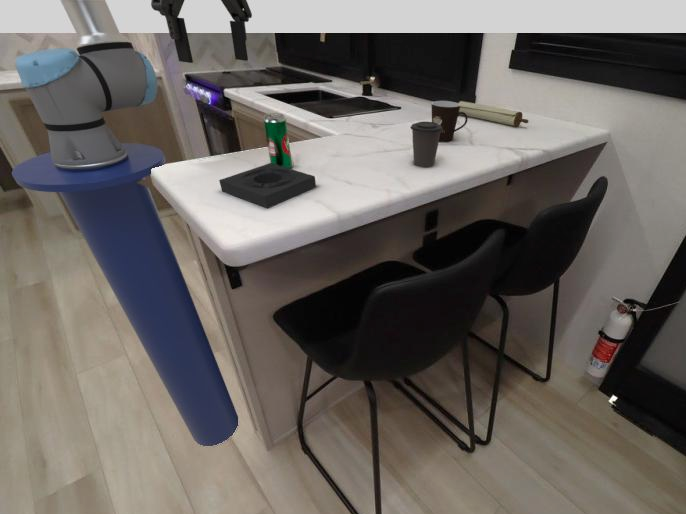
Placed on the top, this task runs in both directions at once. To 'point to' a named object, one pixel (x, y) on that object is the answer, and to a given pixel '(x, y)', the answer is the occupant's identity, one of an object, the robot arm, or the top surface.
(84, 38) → the robot arm
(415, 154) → the coffee cup
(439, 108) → the coffee mug
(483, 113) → the rolling pin
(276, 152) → the soda can
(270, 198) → the socket pad
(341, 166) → the top surface
